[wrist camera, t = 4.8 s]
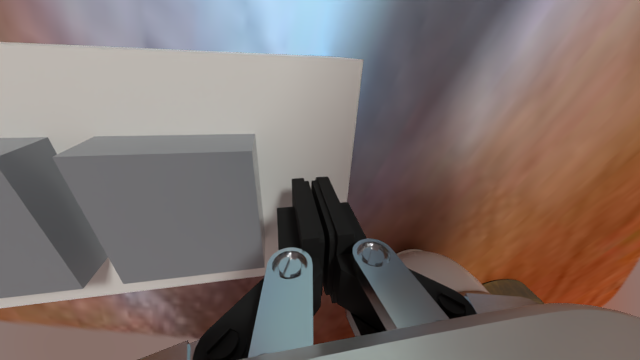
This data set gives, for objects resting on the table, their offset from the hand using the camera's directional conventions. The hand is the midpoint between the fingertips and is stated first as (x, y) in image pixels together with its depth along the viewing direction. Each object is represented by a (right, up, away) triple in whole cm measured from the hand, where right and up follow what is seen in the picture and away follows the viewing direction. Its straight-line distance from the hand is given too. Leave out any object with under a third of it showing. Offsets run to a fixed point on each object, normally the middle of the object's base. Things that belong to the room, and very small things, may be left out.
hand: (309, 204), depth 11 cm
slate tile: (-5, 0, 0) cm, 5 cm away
